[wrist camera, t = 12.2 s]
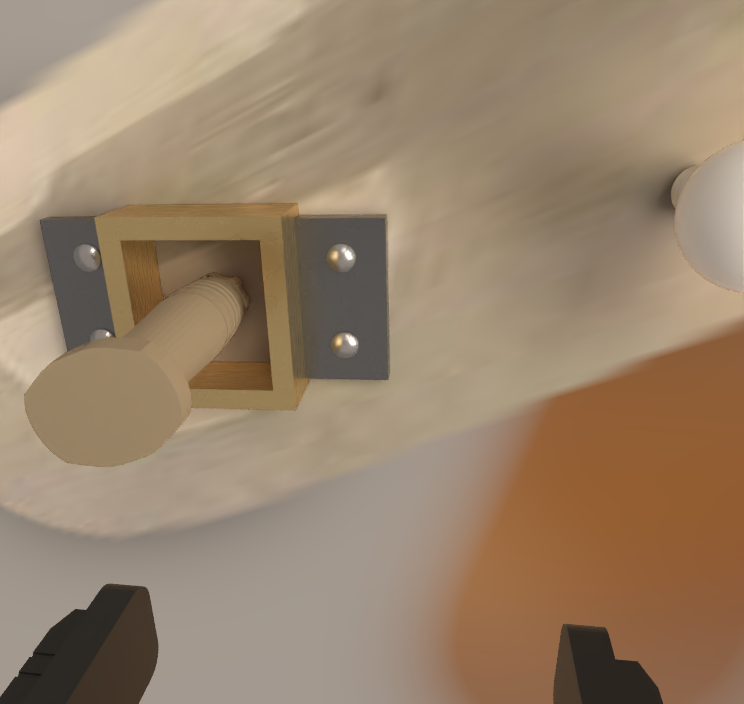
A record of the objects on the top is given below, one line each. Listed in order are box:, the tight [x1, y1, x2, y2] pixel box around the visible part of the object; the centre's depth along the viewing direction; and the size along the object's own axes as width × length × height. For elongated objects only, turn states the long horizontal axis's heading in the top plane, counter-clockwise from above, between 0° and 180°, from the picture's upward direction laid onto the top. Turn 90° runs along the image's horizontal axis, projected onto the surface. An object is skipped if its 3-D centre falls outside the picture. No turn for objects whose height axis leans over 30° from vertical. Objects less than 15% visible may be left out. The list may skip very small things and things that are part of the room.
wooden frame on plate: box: [40, 203, 390, 411], centre depth 37 cm, size 11×20×4 cm, turn 91°
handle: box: [24, 272, 250, 467], centre depth 32 cm, size 5×6×15 cm
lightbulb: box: [671, 140, 744, 293], centre depth 29 cm, size 6×6×11 cm
